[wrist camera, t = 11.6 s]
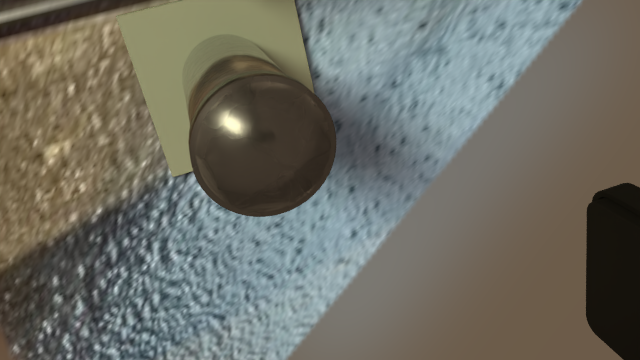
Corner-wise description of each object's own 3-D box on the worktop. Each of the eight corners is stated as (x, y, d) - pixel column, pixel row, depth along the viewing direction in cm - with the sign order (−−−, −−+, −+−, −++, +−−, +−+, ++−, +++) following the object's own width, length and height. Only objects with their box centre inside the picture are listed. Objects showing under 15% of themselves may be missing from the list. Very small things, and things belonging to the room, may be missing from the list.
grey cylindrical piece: (165, 44, 29) (169, 99, 18) (261, 19, 30) (320, 59, 19) (194, 136, 31) (214, 234, 20) (284, 111, 32) (347, 192, 21)
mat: (116, 15, 28) (116, 16, 28) (286, -26, 30) (288, -26, 29) (172, 173, 32) (172, 176, 32) (321, 130, 34) (323, 133, 33)
